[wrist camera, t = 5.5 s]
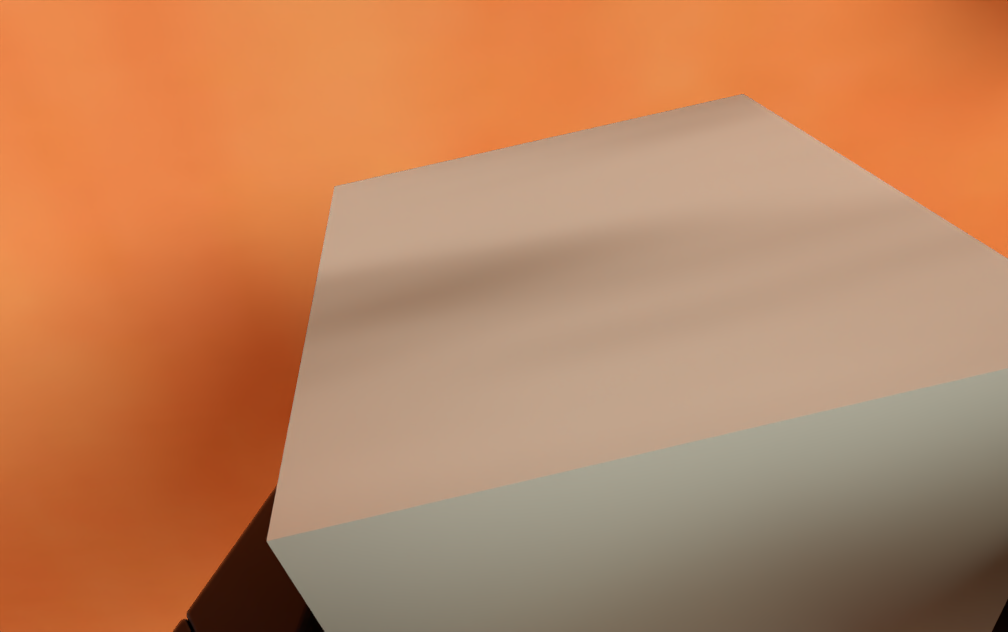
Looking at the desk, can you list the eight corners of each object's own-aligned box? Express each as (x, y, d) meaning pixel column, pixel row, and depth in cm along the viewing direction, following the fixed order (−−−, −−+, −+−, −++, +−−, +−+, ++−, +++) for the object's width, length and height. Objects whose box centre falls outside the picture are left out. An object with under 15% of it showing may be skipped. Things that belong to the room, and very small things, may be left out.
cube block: (732, 397, 11) (945, 725, 7) (434, 467, 11) (459, 843, 6) (743, 94, 8) (1135, 339, 4) (335, 186, 8) (265, 540, 4)
